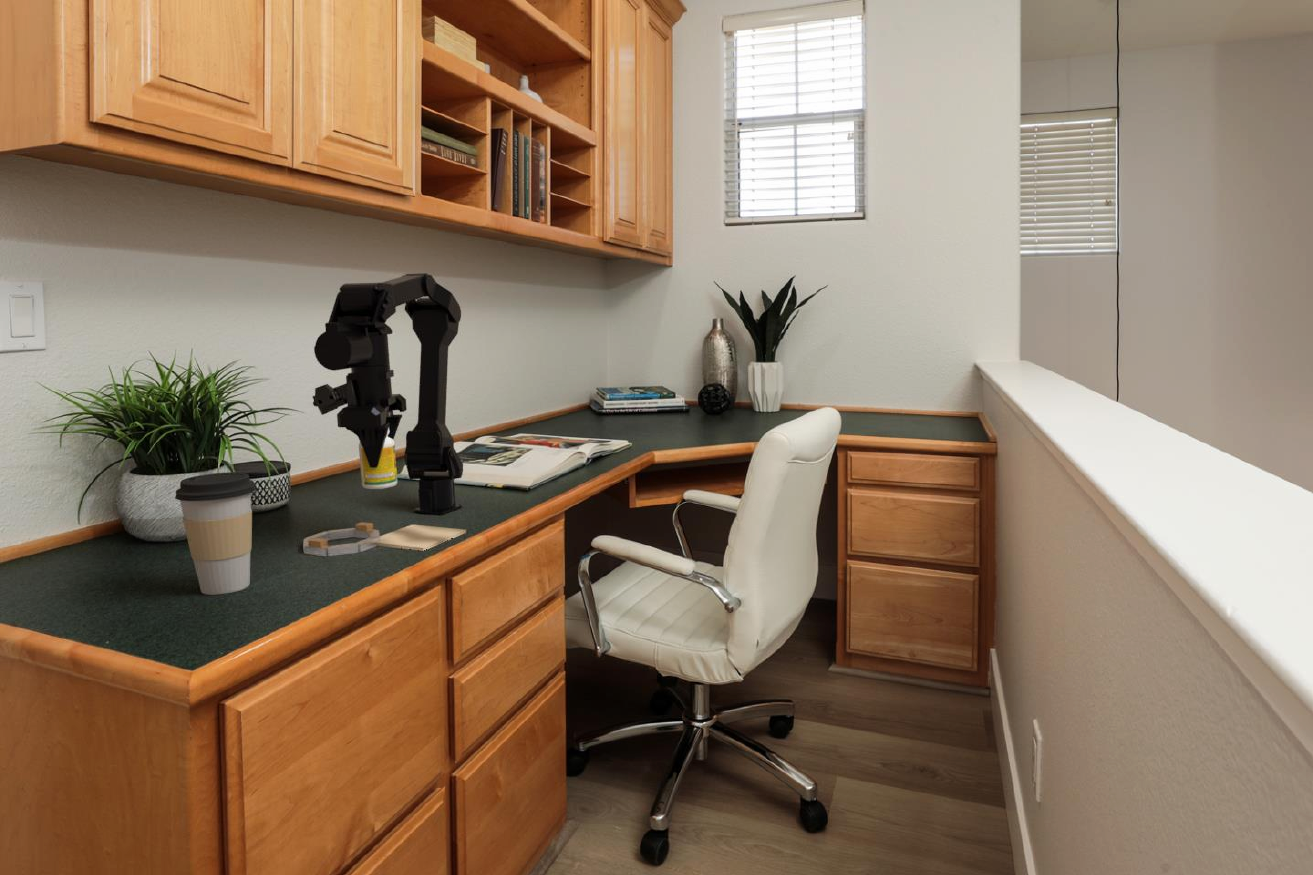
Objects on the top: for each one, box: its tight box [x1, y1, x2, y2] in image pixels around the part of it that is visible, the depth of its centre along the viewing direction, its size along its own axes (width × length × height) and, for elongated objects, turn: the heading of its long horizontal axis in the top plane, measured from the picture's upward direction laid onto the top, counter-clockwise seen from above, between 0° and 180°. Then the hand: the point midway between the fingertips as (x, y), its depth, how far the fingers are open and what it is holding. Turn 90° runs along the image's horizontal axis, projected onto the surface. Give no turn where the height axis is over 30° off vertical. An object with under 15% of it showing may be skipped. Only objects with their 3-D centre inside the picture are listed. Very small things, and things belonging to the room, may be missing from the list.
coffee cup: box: [174, 471, 257, 596], centre depth 105 cm, size 9×9×15 cm
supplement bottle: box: [358, 428, 398, 490], centre depth 125 cm, size 5×5×10 cm
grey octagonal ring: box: [302, 521, 381, 557], centre depth 125 cm, size 11×11×2 cm
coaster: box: [376, 523, 467, 552], centre depth 128 cm, size 11×11×1 cm
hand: (378, 463), depth 125 cm, fingers closed on supplement bottle, 5 cm apart
